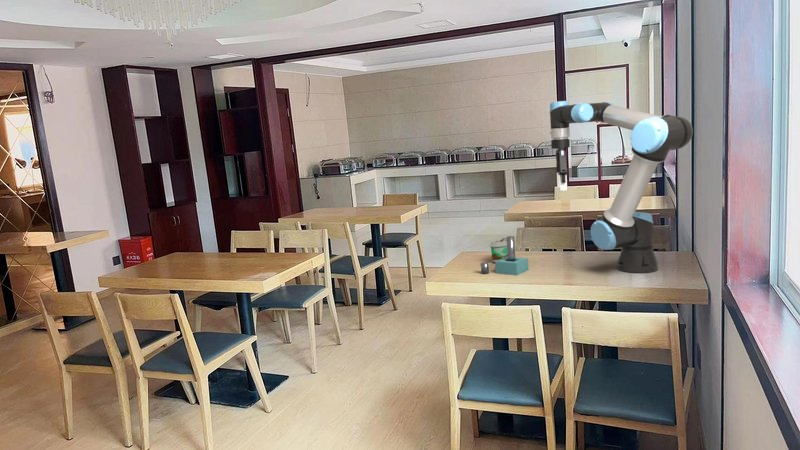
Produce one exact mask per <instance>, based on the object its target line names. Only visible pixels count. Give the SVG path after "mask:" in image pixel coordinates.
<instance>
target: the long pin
mask: <svg viewBox="0 0 800 450" xmlns="http://www.w3.org/2000/svg"><path fill="white" fill-rule="evenodd" d="M506 238H507V254H508V261H513V262H514V261H516V260H515V257H516V244H515V243H516V242H515V236H514V235H508V236H506Z"/></svg>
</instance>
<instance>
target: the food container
mask: <svg viewBox="0 0 800 450" xmlns="http://www.w3.org/2000/svg"><path fill="white" fill-rule="evenodd" d="M489 245H490V246H489V247H490V250H491V251H490V252H491V258H492V259H491V261H492V264H495V261H498V260H500V259H503V258H505V257H508V254H507V237H501V239H500V240H496V241H491V242H490V244H489Z"/></svg>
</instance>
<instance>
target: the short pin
mask: <svg viewBox="0 0 800 450" xmlns="http://www.w3.org/2000/svg"><path fill="white" fill-rule="evenodd" d="M489 264H490V263H489V262H486V261H484V262H481V263H480V269H481V270H480V271H481V272H480V273H481V274H482V275H489V274H490V267H489V266H490V265H489Z"/></svg>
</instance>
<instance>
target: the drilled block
mask: <svg viewBox="0 0 800 450" xmlns="http://www.w3.org/2000/svg"><path fill="white" fill-rule="evenodd" d="M515 260H516V261H514V262H513V261H508V257H505V258H503V259H500V260H498V261H495V263H494V265H495V274H500V273H503V274H502V275H509V274H510V275H511V276H518V275H519V276H520V274H523V273H525V272H527V271H529V270H530V269H529V258H528V257H527V258H526V257H516V256H515Z"/></svg>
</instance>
